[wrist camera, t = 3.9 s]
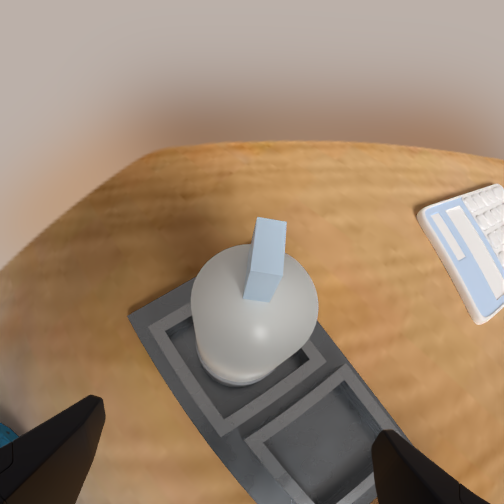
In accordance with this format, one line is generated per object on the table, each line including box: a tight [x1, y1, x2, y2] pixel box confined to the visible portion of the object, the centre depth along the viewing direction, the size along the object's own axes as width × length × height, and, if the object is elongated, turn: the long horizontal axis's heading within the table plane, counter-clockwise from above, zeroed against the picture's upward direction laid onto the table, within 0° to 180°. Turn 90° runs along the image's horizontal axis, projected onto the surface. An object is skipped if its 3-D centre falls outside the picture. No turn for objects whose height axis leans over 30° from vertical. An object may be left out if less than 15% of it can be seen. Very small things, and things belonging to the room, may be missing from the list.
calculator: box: [417, 184, 504, 325], centre depth 29 cm, size 13×20×2 cm, turn 112°
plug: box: [191, 217, 318, 387], centre depth 15 cm, size 5×5×12 cm
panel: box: [127, 277, 412, 504], centre depth 19 cm, size 11×21×2 cm, turn 36°
